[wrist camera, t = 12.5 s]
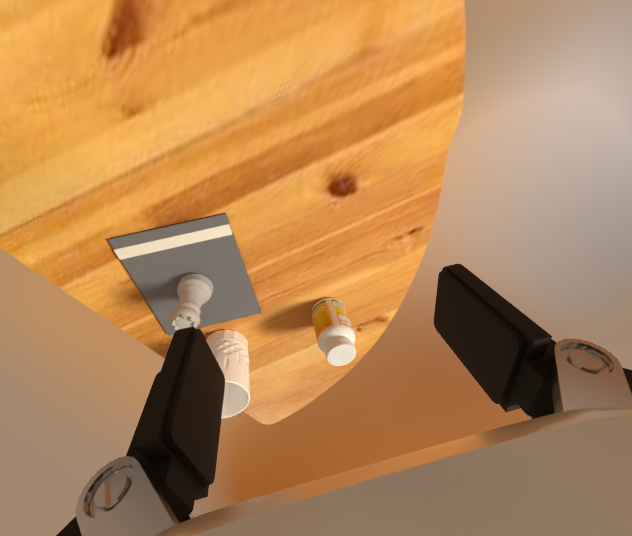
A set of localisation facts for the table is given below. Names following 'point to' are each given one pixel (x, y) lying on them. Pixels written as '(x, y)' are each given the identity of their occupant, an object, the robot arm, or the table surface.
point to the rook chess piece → (191, 300)
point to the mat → (189, 268)
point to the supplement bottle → (334, 331)
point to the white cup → (232, 369)
